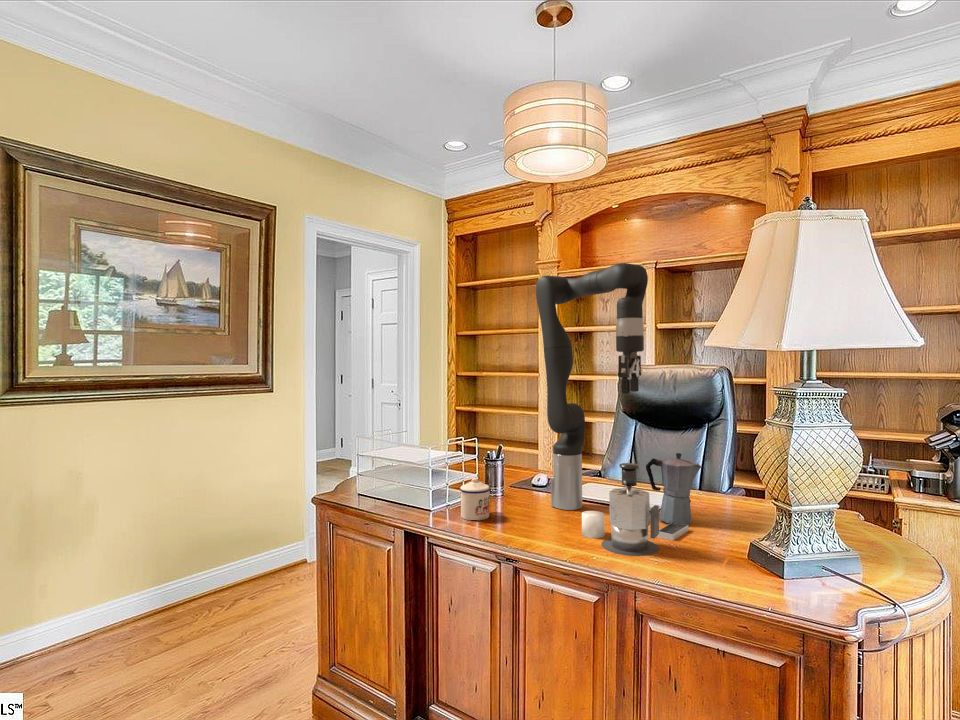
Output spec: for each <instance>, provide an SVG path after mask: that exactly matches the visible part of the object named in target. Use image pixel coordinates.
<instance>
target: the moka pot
mask: <svg viewBox="0 0 960 720" xmlns="http://www.w3.org/2000/svg"><path fill="white" fill-rule="evenodd" d="M653 465H654V466H657V467H660V469H661V478H662V481H661V483H662V486H663V489H662V491H663V496H662V502H661V505H660V509H659V521H661V522H662V523H663V522H664V523H666V524H668V525H669V524H670V523H672V522H677V523H682V524H687V525H688V526H690V525H691V524H692V509H691V507H692V506H691V502H692V500H691V497H690V495H691V490H692V489H693V485H694V484H693V483H694V480H695V478H696V477H697V474H698V473H699V471H700V469H702V468H703V466H702V465H701V464H699V463H697V462H692V461H689V460H685V459H682V453H678V452H677V453H675V458H666V459H657V458H651V459H650V460H649V461H648V462H647V464H645V469H646V472H647V476H648V480H649V483H650V485H651V489H652V490H653V491H657V492H660V491H661V487H659V486H656V484H655V479H654V475H653V472H652V467H651V466H653Z"/></svg>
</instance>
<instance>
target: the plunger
mask: <svg viewBox="0 0 960 720" xmlns="http://www.w3.org/2000/svg"><path fill="white" fill-rule="evenodd" d="M619 468H621V486H625V487H626V488H627V495H632V488H633V487H636V486H637V485H638V484H637V483H638V482H637V481H638V479H637V478H638V477H637V476H638V475H637V469H639V464H637V463H631V462H621V463H619Z"/></svg>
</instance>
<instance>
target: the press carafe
mask: <svg viewBox="0 0 960 720" xmlns="http://www.w3.org/2000/svg"><path fill="white" fill-rule="evenodd" d="M608 494H609V500H608V501H609V524H610V525H611V529H610V531H611V532H610V533H611V535H610V536H611V537H610V538H611V545H612V547H614V548H615V549H618V550H621V551H626V552H642V551H646V550H647V549H648V548H649V543H648V541H649V526H650V539H656V538H658V537H657V536H658V534H659V530H660V519H659V515H660V507H659V505H657V504H654V505H653V506H652V507H651V508H650V491H649V492H648V491H646V490H644V489H641V488H633V487H632V495H627V487H620V488H613V489H611V490H610V491H609V493H608Z"/></svg>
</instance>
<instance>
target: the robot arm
mask: <svg viewBox="0 0 960 720" xmlns="http://www.w3.org/2000/svg"><path fill="white" fill-rule="evenodd" d="M648 280H649V277H648V272H647V269H646V268H645V267H644V266H642V265H640V264H636V263H635V264H634V263H628V262H627V263H626V262H622V263H621V262H620V263H616V264H612V265H611V266H609V267H607V268H602V269H598V270H593V271H589V272H587V273H585V274H584V275H582V276H580V277H563V276H560V275H559V276H558V275H541V276H540V277H539V278H538V280H537V281H536V285H535V298H536V303H537V309H538V314H539V318H540V319H539V320H540V325H541V333H542V343H543V355H544V357H543V358H544V365H545V377H546V390H547V391H546V393H547V394H546V396H547V397H546V399H547V400H546V403H547V405H546V406H547V407H546V415H547V423H548V425H549V428H550V430H552V431H553V432H554V433H556V434H561V435H560V437H559V439H558V440H557V441H556V442H555V443H554V444H553V446H552V464H553V465H552V469H553V470H552V472H553V475H552V476H551V477H550V506H551V508H553V507H554V508H556V509H558V510H565V511H574V510H575V511H576V510H580V509H582V508H583V448H584V444H585V432H586V416H585V412H584V410H583V408H582V407H581V405H579V404H577V403H575V402H571V403H568V399H567V385H568V382H569V379H570V376H571V373H572V369H573V366H574V352H573V344H572V341H571V338H570V336H569V334H568V332H567V331H566V329H565V328H564V326H563V324H562V323H561V321H560V319H559V316H558V313H557V312H558V311H557V305H563V304H566V303H568V302H571V301H574V300H575V299H579V298H582V297H587V296H593V295H601V294H607V293H611V292H614V291H616V290H618V289H625V290H626V292H625V296H624V297H621V298H619V299H618V300H617V302H616V324H615V325H616V326H615V344H616V345H615V350H616V352H618V353H622V354H621V355H618V357H617V358H618V366H617V368H618V372H617V376H618V377H617V378H619V379H620V380H621V393H622V394H630V393H631V392H632V393H633V392H634V393H636V392H639V390H640V388H639V385H640V384H639V383H640V382H639V381H640V380H639V379H640V377H641V376H642V357H641V356H642V355H638V352H644V350H645V343H644V342H645V340H644V339H645V337H644V335H645V334H644V333H645V332H644V328H645V327H644V322H643V312H644V309H643V303H644V299H645V295H646V290H647V287H648V283H649V281H648Z"/></svg>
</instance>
